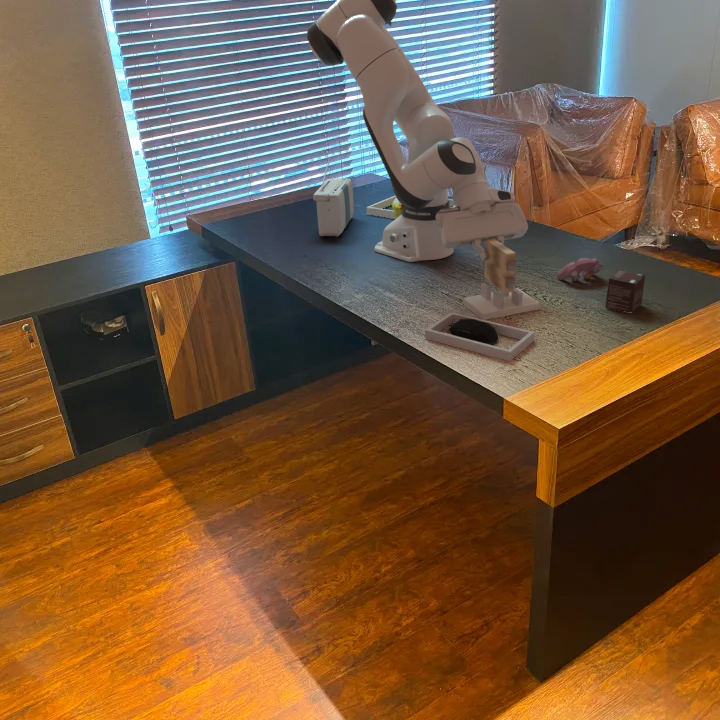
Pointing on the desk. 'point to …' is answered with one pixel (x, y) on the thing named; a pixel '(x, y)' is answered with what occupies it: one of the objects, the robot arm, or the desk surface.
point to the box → (625, 291)
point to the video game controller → (580, 269)
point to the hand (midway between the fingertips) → (493, 258)
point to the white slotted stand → (500, 303)
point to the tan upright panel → (500, 265)
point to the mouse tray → (479, 347)
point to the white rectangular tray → (379, 211)
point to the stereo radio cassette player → (334, 205)
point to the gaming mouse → (474, 331)
